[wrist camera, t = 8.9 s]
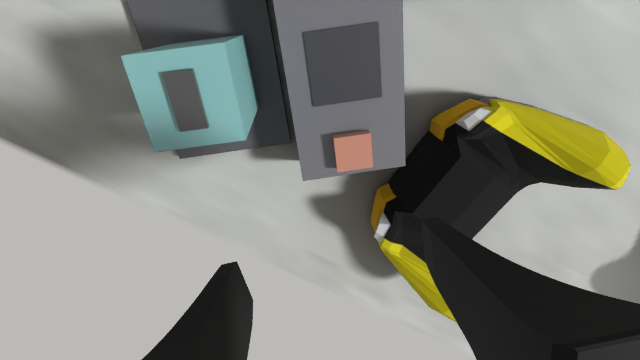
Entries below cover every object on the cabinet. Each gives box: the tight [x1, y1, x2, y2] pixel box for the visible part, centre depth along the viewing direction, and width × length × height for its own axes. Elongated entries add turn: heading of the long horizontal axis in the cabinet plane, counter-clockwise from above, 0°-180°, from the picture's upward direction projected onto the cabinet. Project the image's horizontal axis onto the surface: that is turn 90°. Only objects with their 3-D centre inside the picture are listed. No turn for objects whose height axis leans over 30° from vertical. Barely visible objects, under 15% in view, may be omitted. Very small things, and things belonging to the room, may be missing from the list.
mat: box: [127, 0, 291, 159], centre depth 20 cm, size 7×9×1 cm
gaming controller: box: [370, 97, 631, 321], centre depth 22 cm, size 15×6×10 cm
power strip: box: [273, 0, 406, 181], centre depth 17 cm, size 16×6×4 cm, turn 7°
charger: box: [121, 34, 259, 152], centre depth 17 cm, size 4×4×6 cm
